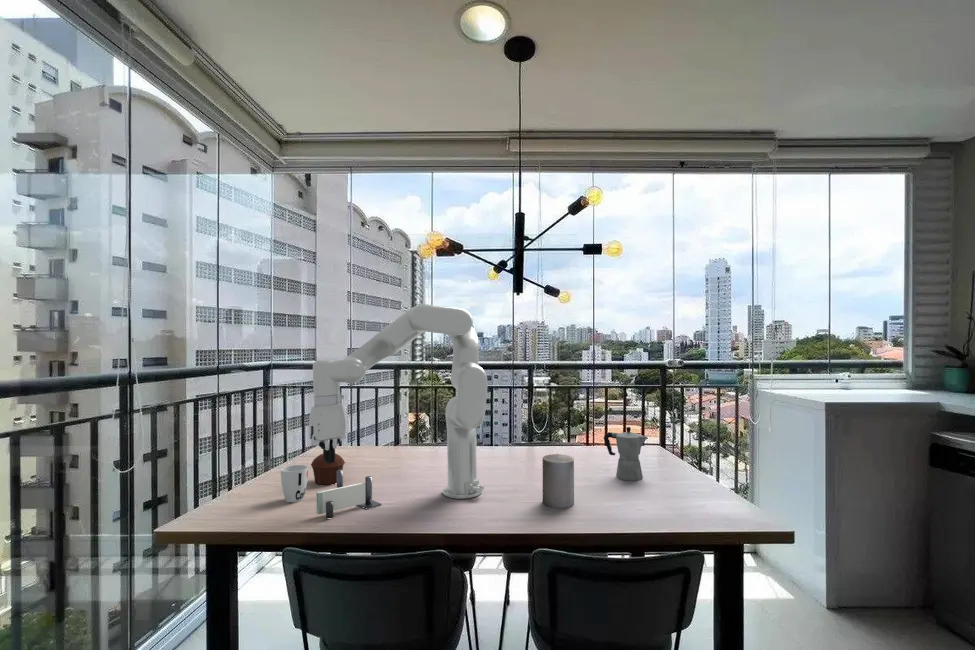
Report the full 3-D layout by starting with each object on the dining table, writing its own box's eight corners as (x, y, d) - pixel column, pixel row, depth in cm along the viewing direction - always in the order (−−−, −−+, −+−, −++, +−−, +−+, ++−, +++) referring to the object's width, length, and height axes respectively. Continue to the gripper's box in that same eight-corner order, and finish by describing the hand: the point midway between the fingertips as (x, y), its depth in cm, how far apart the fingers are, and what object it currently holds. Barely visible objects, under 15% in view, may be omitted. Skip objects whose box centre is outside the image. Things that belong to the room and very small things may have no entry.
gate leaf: (363, 502, 149) (363, 482, 149) (365, 503, 148) (365, 483, 148) (316, 513, 140) (316, 492, 140) (318, 514, 139) (318, 493, 139)
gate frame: (381, 505, 149) (381, 477, 149) (329, 520, 137) (329, 490, 137) (343, 490, 164) (343, 464, 164) (294, 503, 152) (294, 475, 152)
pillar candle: (537, 500, 152) (536, 451, 152) (564, 495, 156) (564, 448, 156) (552, 510, 143) (551, 459, 143) (581, 506, 147) (580, 455, 147)
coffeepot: (649, 475, 178) (648, 425, 178) (647, 482, 169) (646, 430, 169) (606, 471, 184) (605, 423, 184) (602, 478, 175) (601, 427, 175)
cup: (298, 505, 150) (298, 472, 150) (274, 503, 152) (275, 471, 152) (313, 496, 158) (313, 465, 158) (290, 495, 160) (290, 464, 160)
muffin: (304, 485, 170) (304, 456, 170) (322, 476, 181) (321, 449, 181) (334, 487, 167) (334, 458, 168) (351, 478, 178) (351, 451, 178)
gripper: (343, 397, 155) (345, 455, 154) (297, 403, 144) (299, 466, 143) (356, 398, 149) (358, 458, 149) (309, 405, 139) (311, 470, 138)
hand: (329, 462), depth 146 cm, fingers closed
